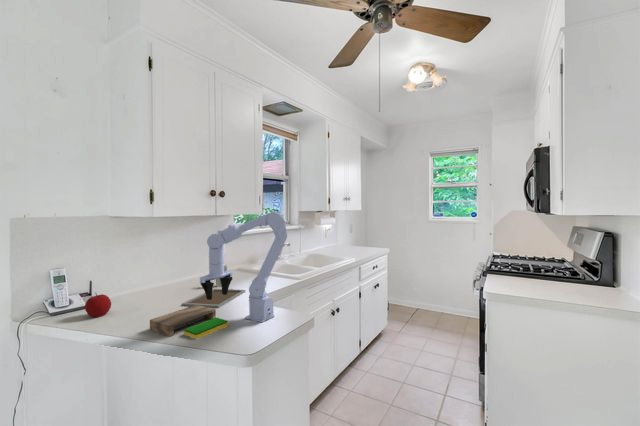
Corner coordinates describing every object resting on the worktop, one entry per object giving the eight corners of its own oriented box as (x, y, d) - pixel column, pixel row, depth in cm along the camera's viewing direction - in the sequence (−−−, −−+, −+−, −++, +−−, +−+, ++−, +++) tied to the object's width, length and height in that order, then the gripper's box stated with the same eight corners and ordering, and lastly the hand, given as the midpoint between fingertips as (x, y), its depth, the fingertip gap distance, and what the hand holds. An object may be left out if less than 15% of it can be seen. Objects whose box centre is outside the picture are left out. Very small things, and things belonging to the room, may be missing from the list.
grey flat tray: (181, 303, 137) (216, 287, 166) (181, 307, 137) (216, 290, 166) (218, 305, 133) (247, 288, 163) (218, 309, 133) (247, 291, 163)
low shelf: (215, 318, 120) (215, 308, 120) (169, 336, 103) (169, 325, 103) (196, 313, 126) (196, 304, 126) (149, 330, 109) (149, 319, 109)
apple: (112, 315, 125) (112, 292, 125) (85, 320, 119) (85, 296, 119) (110, 310, 132) (109, 288, 132) (84, 315, 126) (84, 291, 126)
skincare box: (226, 284, 177) (226, 264, 177) (227, 285, 173) (227, 265, 173) (215, 285, 174) (215, 265, 174) (216, 287, 170) (216, 266, 170)
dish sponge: (183, 336, 104) (183, 329, 104) (216, 323, 116) (216, 317, 116) (196, 340, 100) (195, 333, 100) (228, 327, 112) (228, 320, 112)
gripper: (223, 259, 127) (224, 291, 127) (194, 265, 114) (195, 300, 115) (235, 261, 123) (236, 293, 123) (206, 266, 111) (207, 302, 111)
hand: (217, 296), depth 119 cm, fingers open, 7 cm apart
